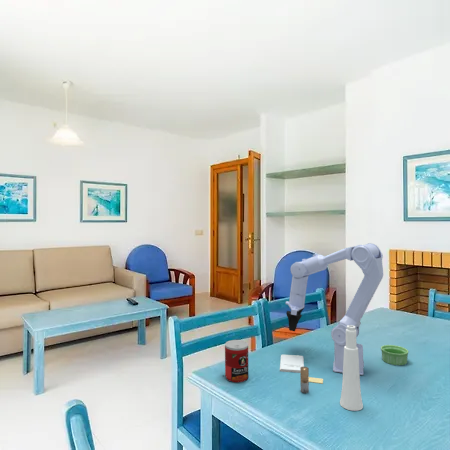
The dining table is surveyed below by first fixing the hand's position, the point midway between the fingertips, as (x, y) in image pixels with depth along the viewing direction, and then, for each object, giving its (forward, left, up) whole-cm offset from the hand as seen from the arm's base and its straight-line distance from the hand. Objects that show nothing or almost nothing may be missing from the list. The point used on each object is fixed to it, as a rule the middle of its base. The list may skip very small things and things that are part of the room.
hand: (293, 326), depth 132 cm
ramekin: (-36, -4, -11) cm, 37 cm away
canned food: (+15, +25, -11) cm, 31 cm away
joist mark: (-9, +20, -10) cm, 25 cm away
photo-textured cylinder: (-7, +28, -10) cm, 31 cm away
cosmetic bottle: (-20, +32, -11) cm, 39 cm away
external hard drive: (-1, +10, -11) cm, 15 cm away
